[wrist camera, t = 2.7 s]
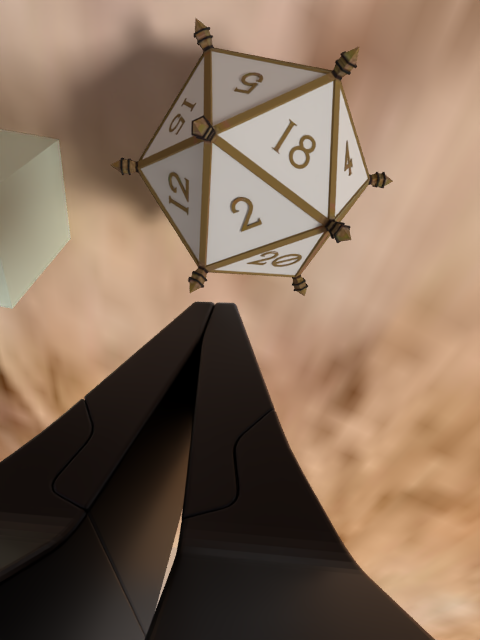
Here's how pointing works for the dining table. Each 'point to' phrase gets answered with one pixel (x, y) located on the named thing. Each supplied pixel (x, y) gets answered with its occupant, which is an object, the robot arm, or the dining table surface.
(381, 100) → the dining table surface
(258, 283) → the dining table surface
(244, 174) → the game die
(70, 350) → the dining table surface
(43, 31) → the dining table surface
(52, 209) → the sage block
